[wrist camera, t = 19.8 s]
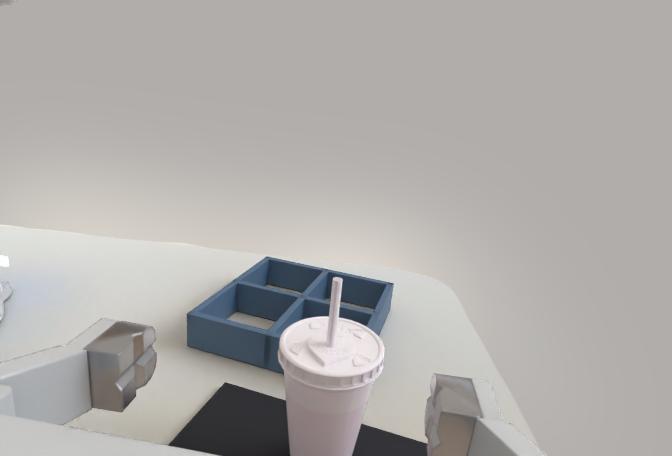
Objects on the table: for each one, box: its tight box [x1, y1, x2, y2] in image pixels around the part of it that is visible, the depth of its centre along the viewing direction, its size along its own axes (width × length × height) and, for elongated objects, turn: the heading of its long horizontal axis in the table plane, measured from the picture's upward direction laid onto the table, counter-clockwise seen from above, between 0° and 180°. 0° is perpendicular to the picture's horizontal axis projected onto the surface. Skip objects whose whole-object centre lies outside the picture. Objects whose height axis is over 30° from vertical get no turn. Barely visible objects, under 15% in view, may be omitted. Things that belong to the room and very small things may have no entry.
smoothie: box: [278, 277, 385, 456], centre depth 26 cm, size 6×6×14 cm
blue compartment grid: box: [187, 257, 394, 373], centre depth 46 cm, size 17×17×4 cm
